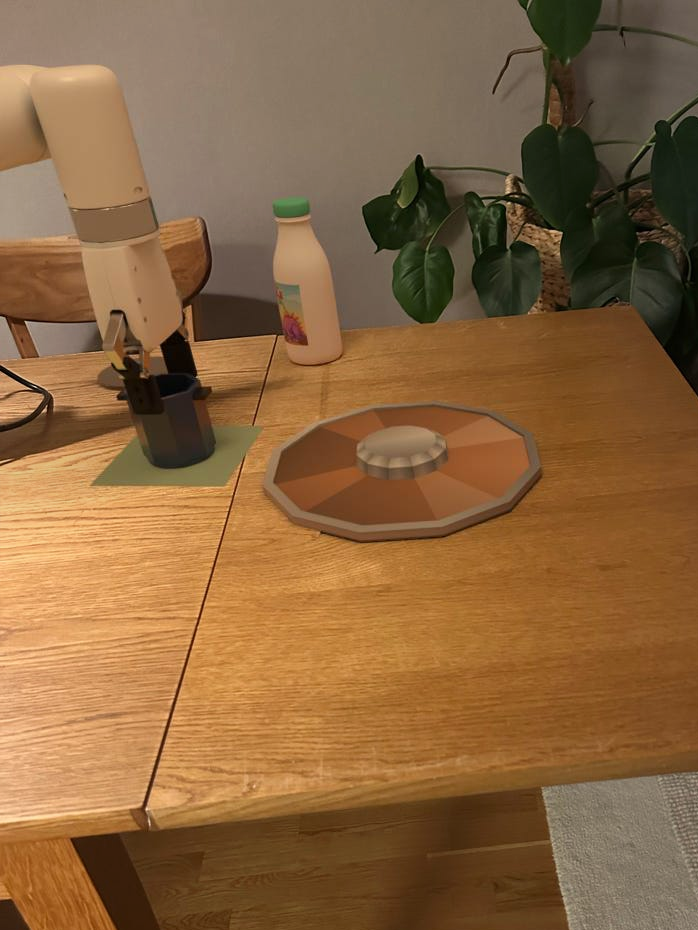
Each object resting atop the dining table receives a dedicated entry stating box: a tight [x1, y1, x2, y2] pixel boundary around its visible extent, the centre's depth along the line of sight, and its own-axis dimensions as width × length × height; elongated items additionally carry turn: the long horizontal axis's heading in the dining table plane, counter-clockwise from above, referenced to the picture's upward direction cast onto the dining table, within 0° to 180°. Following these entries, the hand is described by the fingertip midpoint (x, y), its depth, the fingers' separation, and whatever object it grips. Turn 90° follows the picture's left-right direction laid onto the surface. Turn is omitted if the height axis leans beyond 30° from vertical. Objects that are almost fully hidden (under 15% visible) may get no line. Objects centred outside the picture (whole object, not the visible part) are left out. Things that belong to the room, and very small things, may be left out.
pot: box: [115, 373, 216, 469], centre depth 92 cm, size 10×7×8 cm
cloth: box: [89, 425, 265, 488], centre depth 95 cm, size 15×15×1 cm
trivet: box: [96, 356, 168, 392], centre depth 115 cm, size 11×11×1 cm
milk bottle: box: [272, 196, 343, 366], centre depth 112 cm, size 8×8×20 cm
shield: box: [261, 400, 542, 543], centre depth 89 cm, size 30×3×30 cm
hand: (167, 394), depth 90 cm, fingers open, 9 cm apart
